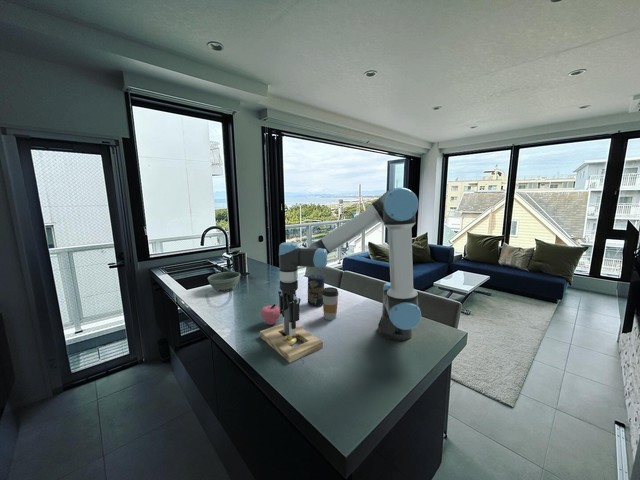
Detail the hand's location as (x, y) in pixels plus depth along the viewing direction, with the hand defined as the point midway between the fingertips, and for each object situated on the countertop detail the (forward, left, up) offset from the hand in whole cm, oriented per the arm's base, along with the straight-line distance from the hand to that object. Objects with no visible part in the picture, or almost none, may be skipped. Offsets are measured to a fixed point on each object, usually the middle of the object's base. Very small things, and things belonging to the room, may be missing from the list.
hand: (289, 332), depth 111 cm
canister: (+24, -34, -4) cm, 42 cm away
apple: (+19, -2, -4) cm, 20 cm away
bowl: (+82, -2, -4) cm, 83 cm away
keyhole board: (-1, 0, -4) cm, 4 cm away
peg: (0, 0, -4) cm, 4 cm away
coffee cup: (+6, -29, -4) cm, 30 cm away
